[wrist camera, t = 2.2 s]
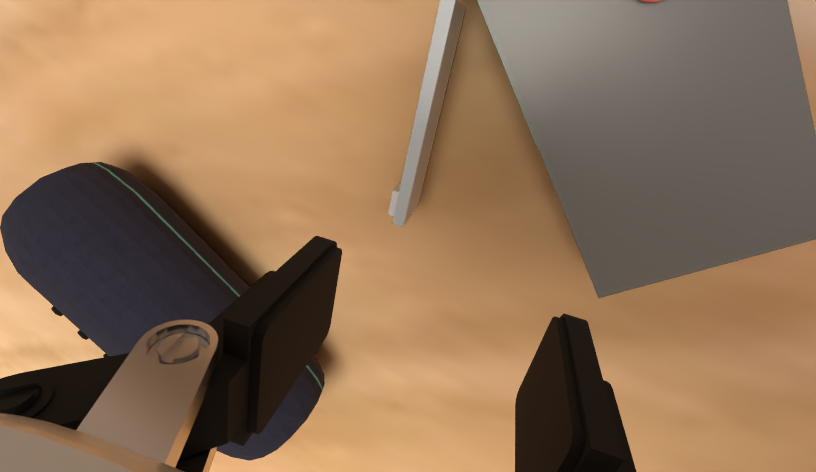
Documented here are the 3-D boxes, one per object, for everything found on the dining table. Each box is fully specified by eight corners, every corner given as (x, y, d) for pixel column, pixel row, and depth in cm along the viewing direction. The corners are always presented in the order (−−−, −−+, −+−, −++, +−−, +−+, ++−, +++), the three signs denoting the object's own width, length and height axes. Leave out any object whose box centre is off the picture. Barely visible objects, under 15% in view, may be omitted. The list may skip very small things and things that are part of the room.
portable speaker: (90, 208, 36) (-49, 258, 27) (138, 135, 32) (-7, 165, 23) (287, 400, 40) (222, 498, 31) (355, 358, 36) (301, 457, 27)
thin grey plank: (418, 204, 28) (403, 227, 24) (401, 199, 28) (383, 221, 24) (465, 8, 23) (455, -1, 19) (444, 3, 23) (429, -7, 19)
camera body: (775, 199, 23) (845, 239, 18) (568, 263, 28) (579, 309, 23) (680, -181, 18) (741, -270, 13) (446, -29, 23) (427, -53, 18)
